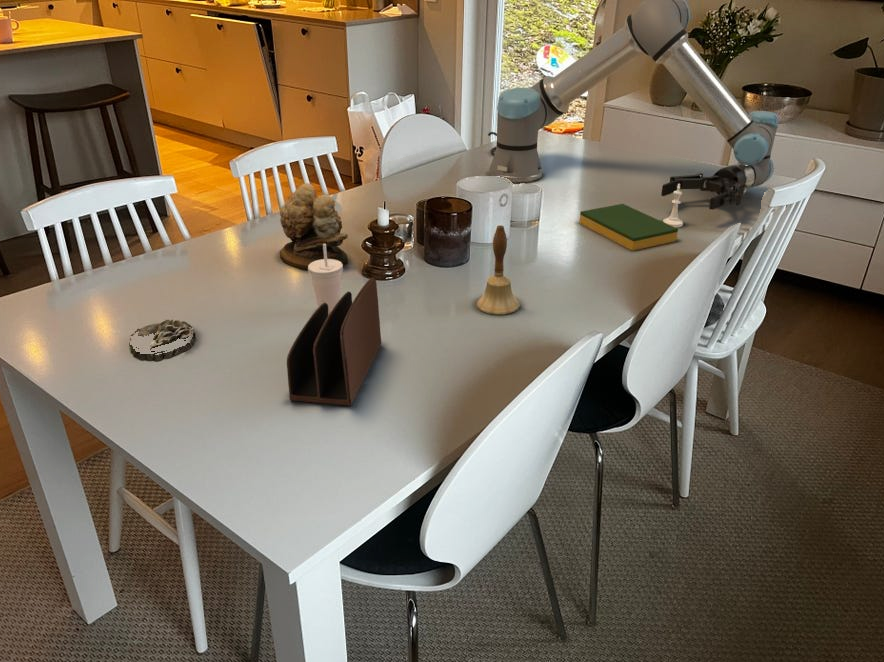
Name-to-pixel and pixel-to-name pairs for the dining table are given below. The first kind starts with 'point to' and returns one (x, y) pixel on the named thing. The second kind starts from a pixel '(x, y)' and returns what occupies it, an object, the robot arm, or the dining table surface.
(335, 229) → the owl figurine
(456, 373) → the dining table surface
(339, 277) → the smoothie
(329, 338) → the letter holder
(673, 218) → the chess piece
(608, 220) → the sponge pad
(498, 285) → the hand bell
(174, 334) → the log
